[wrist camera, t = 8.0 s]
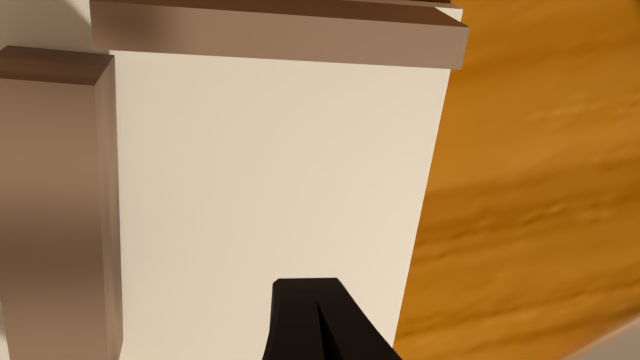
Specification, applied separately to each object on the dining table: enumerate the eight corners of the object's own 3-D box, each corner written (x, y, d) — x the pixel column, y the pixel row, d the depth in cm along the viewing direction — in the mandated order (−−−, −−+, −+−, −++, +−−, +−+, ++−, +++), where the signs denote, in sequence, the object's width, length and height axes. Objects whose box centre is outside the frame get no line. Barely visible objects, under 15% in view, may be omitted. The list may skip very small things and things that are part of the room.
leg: (123, 339, 22) (109, 401, 19) (42, 340, 21) (16, 403, 19) (114, 55, 17) (94, 85, 14) (7, 45, 16) (-35, 75, 14)
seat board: (-24, 401, 24) (-73, 501, 20) (-141, -43, 16) (-262, -20, 12) (377, 380, 27) (402, 464, 23) (451, 3, 19) (511, 33, 15)
